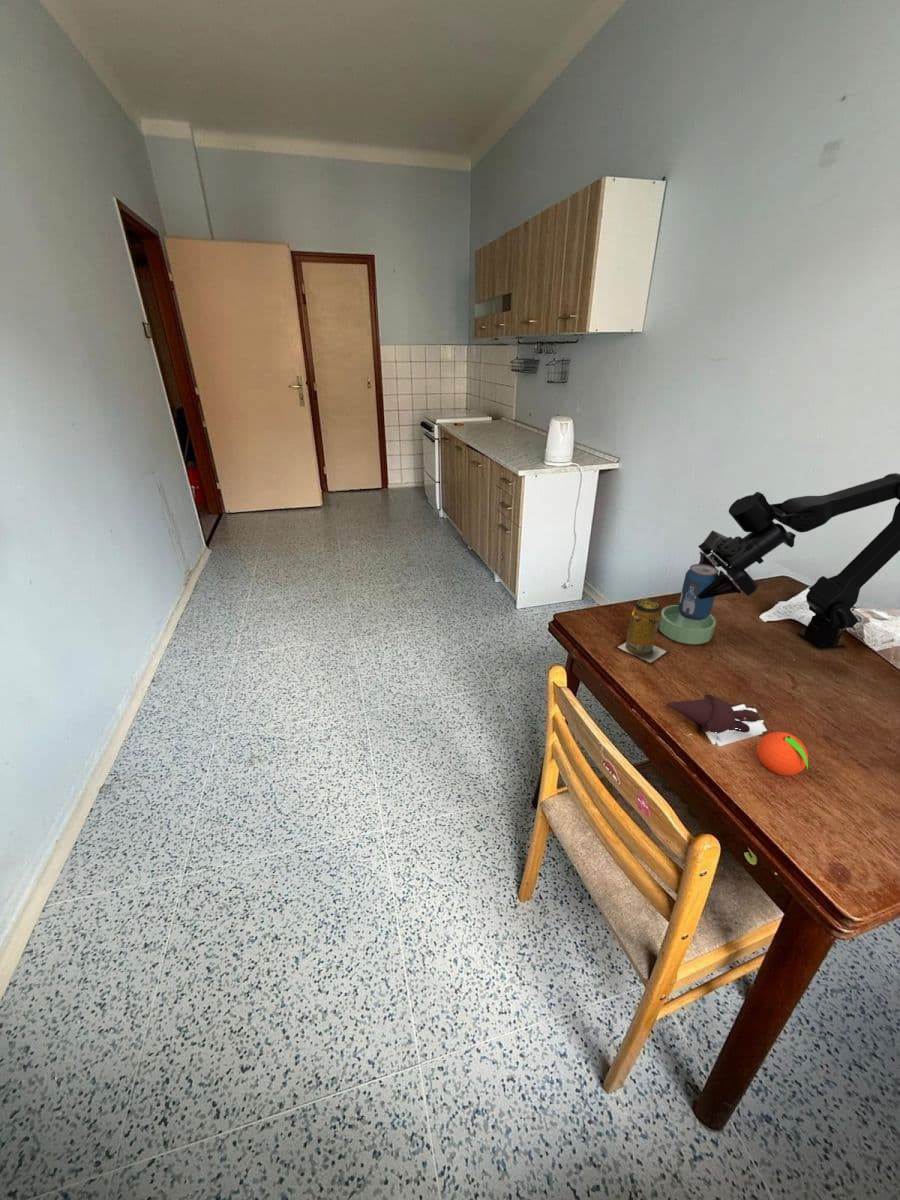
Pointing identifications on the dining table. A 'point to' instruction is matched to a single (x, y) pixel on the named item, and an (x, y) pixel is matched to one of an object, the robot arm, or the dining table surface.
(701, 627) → the pale green shallow bowl
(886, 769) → the dining table surface
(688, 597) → the soda can
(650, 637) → the condiment
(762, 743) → the clementine
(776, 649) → the dining table surface
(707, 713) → the icecream
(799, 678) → the dining table surface
